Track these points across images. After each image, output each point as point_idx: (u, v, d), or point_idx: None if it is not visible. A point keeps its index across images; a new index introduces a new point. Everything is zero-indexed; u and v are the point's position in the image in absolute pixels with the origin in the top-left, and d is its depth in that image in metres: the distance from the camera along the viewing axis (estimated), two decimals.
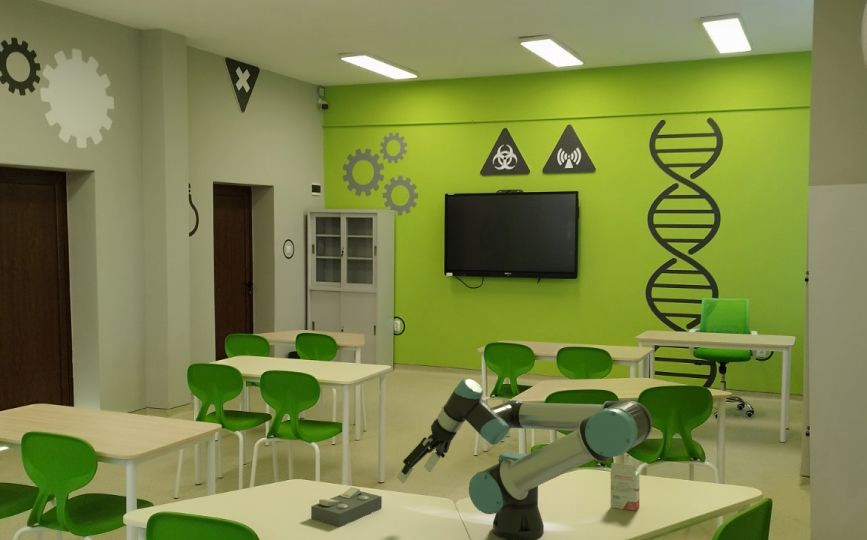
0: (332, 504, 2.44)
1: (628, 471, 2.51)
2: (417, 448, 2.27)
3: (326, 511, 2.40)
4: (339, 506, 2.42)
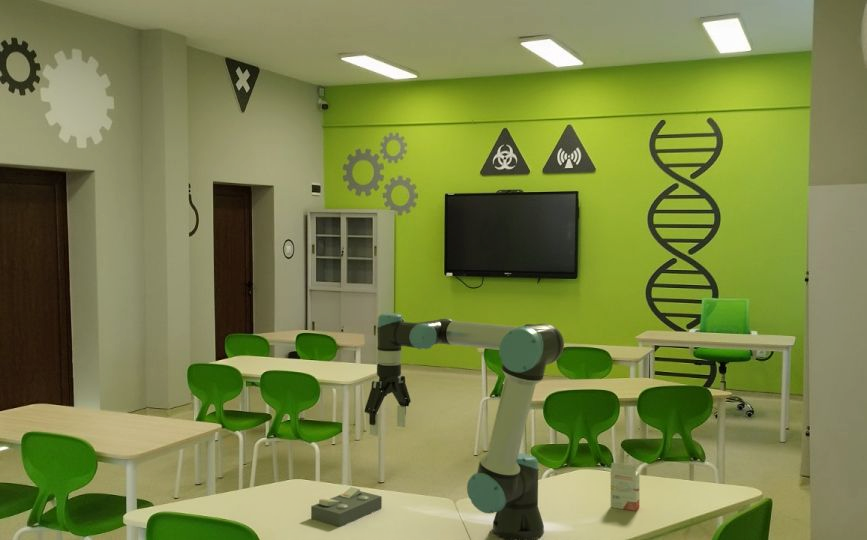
0: (332, 504, 2.44)
1: (628, 471, 2.51)
2: (371, 393, 2.37)
3: (326, 511, 2.40)
4: (339, 506, 2.42)
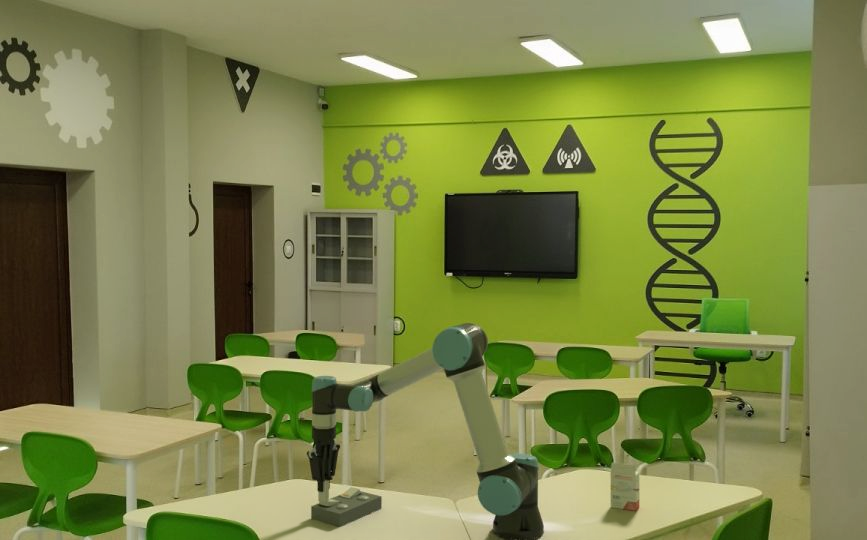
0: (332, 504, 2.44)
1: (628, 471, 2.51)
2: (311, 463, 2.39)
3: (326, 511, 2.40)
4: (339, 506, 2.42)
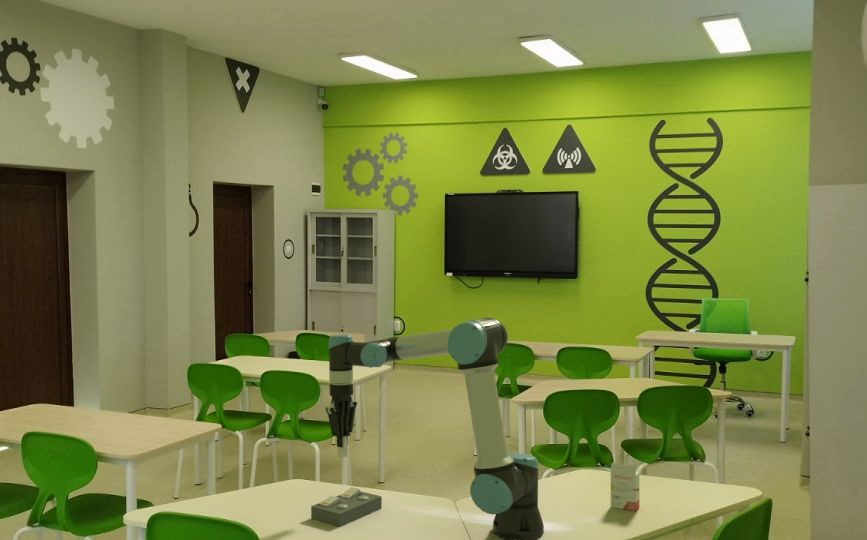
0: (332, 505, 2.44)
1: (628, 471, 2.51)
2: (330, 419, 2.45)
3: (326, 511, 2.40)
4: (339, 506, 2.42)
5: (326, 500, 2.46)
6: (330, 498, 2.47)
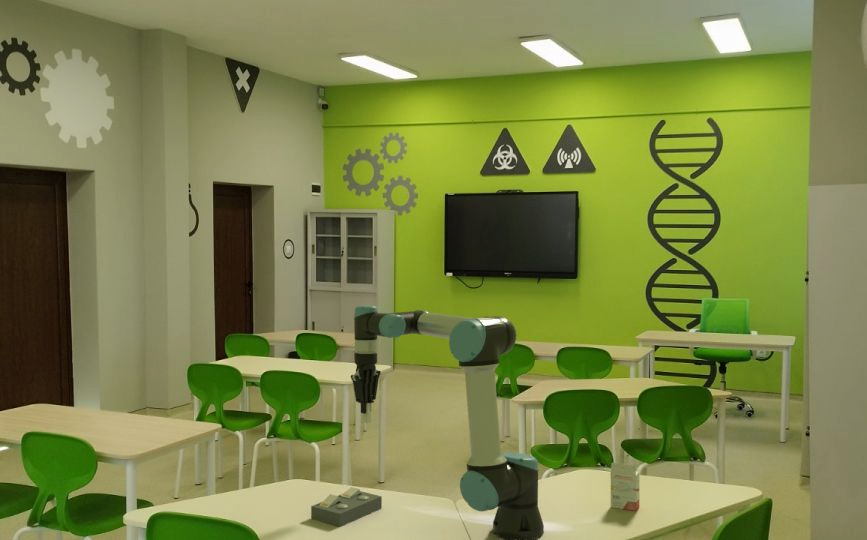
0: (332, 505, 2.44)
1: (628, 471, 2.51)
2: (354, 386, 2.55)
3: (326, 511, 2.40)
4: (339, 506, 2.42)
5: (326, 500, 2.46)
6: (329, 497, 2.47)
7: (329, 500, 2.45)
